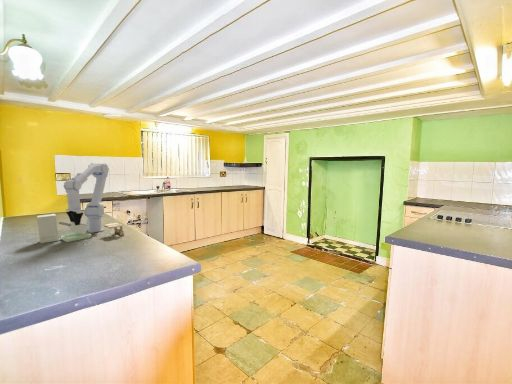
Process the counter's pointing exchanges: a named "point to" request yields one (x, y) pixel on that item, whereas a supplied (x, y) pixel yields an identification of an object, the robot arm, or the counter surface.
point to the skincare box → (47, 228)
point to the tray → (75, 237)
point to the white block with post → (75, 227)
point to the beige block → (115, 228)
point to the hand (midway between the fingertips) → (75, 224)
